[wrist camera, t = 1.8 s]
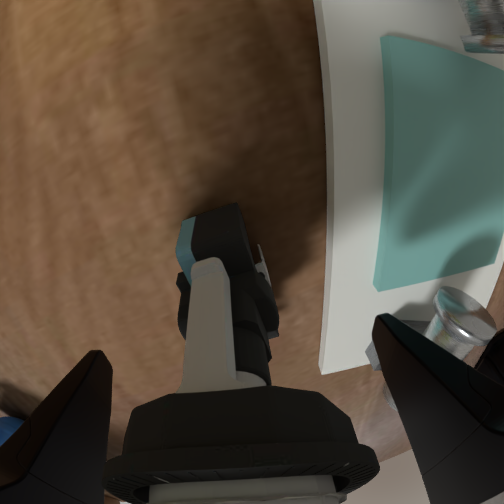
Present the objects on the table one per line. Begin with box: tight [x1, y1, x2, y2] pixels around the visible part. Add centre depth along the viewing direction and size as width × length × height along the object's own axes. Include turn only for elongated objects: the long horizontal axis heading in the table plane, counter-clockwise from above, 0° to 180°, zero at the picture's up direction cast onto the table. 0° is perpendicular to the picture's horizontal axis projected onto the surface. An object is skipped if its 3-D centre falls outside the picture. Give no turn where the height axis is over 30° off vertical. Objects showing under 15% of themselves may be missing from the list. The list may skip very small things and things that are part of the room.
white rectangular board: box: [313, 0, 504, 375], centre depth 10 cm, size 12×22×1 cm, turn 6°
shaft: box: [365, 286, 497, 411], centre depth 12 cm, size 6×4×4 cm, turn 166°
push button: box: [102, 203, 380, 504], centre depth 8 cm, size 7×5×10 cm
